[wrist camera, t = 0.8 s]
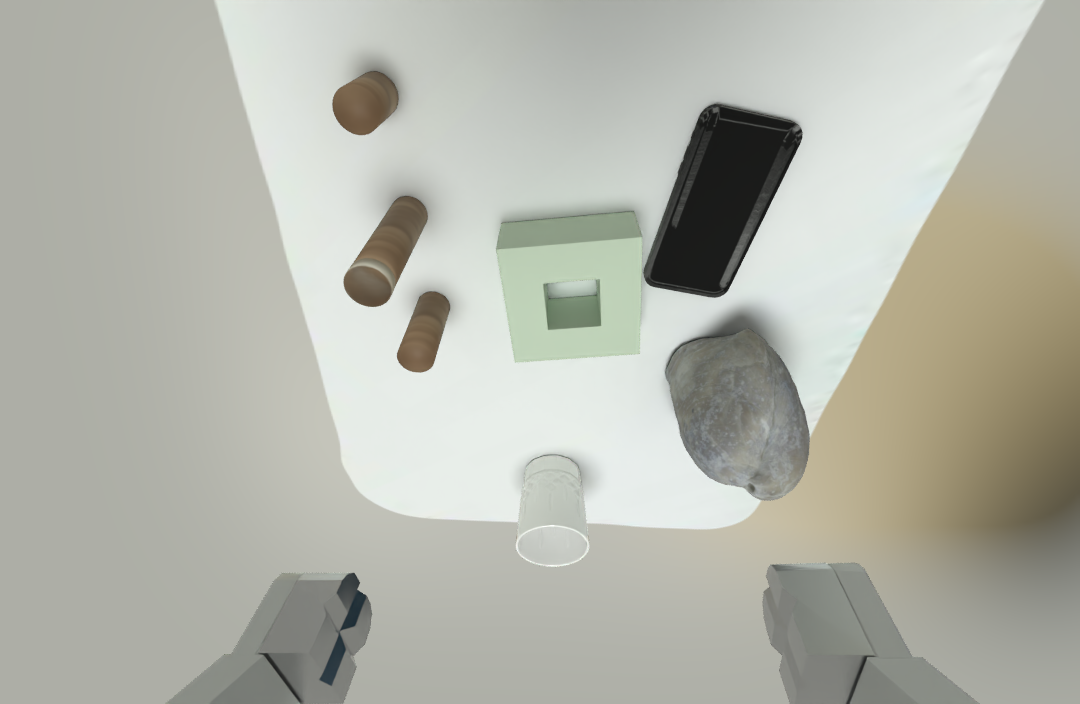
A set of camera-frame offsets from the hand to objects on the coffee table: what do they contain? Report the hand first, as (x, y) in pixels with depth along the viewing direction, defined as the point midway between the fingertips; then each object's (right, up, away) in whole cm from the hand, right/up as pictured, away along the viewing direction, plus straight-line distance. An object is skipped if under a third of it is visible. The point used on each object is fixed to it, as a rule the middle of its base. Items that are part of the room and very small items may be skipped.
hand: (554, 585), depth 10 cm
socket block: (+3, +11, +35) cm, 37 cm away
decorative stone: (+18, +3, +41) cm, 45 cm away
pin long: (-11, +16, +32) cm, 37 cm away
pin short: (-12, +23, +26) cm, 37 cm away
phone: (+14, +17, +32) cm, 38 cm away
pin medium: (-10, +9, +37) cm, 40 cm away
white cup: (+1, -10, +52) cm, 53 cm away
